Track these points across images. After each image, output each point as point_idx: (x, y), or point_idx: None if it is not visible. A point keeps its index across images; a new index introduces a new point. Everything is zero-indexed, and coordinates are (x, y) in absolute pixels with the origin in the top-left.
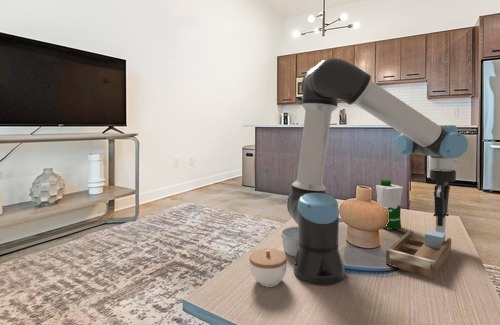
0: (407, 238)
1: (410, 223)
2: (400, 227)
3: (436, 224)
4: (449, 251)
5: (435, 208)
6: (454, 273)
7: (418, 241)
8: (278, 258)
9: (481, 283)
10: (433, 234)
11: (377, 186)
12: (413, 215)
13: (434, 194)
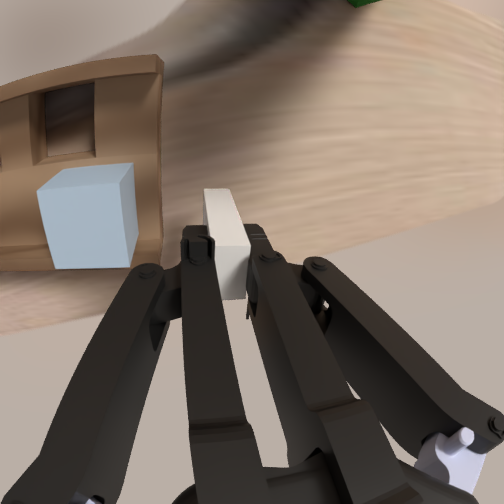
0: (61, 85)
1: (432, 55)
2: (353, 4)
3: (206, 216)
4: None
5: (101, 329)
6: (10, 275)
7: (95, 127)
8: None
9: (20, 321)
10: (62, 227)
11: None
12: (498, 82)
13: (12, 493)
